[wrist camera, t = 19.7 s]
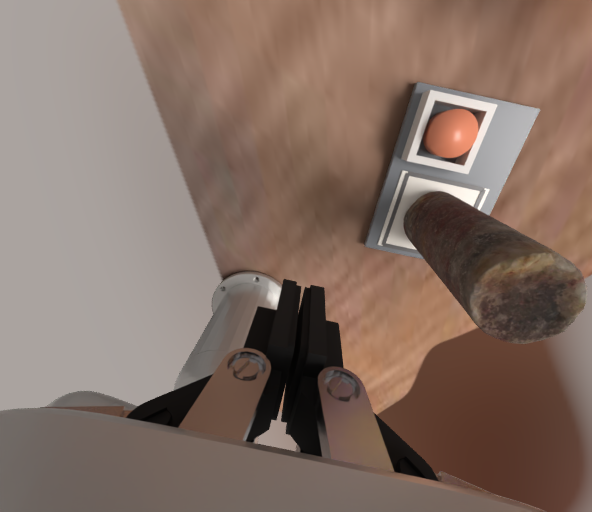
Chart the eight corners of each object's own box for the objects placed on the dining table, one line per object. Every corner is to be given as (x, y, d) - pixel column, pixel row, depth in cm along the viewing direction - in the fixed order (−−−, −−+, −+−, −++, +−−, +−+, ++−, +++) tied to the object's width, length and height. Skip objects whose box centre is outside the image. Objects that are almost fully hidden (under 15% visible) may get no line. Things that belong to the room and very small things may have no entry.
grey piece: (460, 264, 41) (472, 276, 38) (364, 244, 41) (368, 253, 38) (534, 109, 33) (557, 107, 30) (415, 83, 33) (425, 78, 30)
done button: (456, 160, 34) (466, 162, 32) (416, 151, 34) (423, 152, 32) (474, 115, 32) (486, 114, 30) (432, 106, 32) (441, 104, 30)
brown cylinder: (423, 256, 40) (514, 363, 21) (387, 221, 38) (451, 303, 20) (472, 216, 37) (622, 298, 19) (435, 177, 36) (559, 224, 17)
